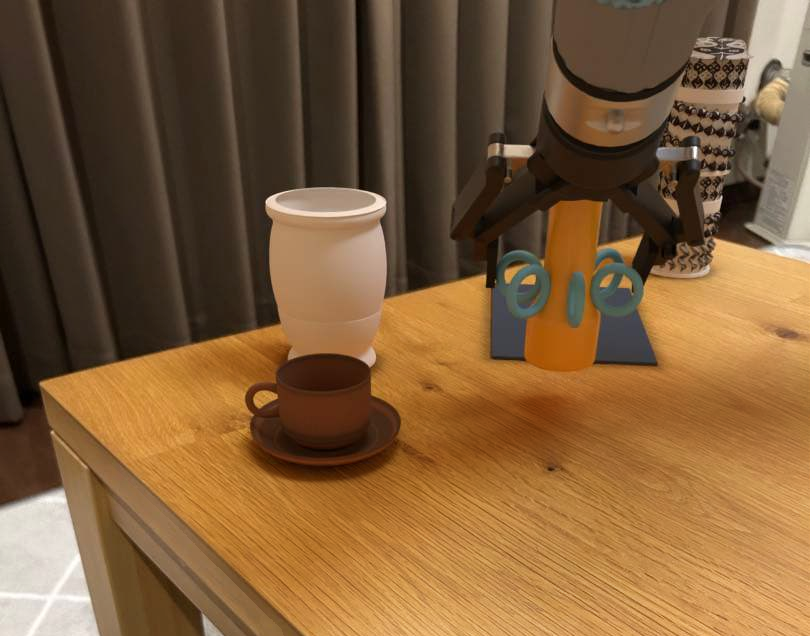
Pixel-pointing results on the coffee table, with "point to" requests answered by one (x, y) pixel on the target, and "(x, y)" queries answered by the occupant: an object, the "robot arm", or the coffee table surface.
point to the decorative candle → (705, 138)
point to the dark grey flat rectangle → (615, 340)
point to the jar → (328, 269)
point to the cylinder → (567, 289)
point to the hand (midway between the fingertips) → (563, 275)
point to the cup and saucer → (322, 412)
